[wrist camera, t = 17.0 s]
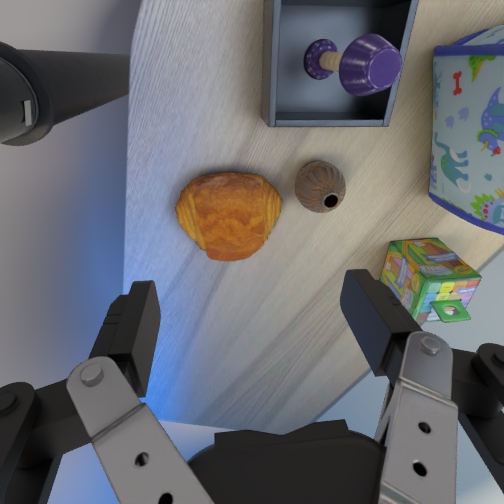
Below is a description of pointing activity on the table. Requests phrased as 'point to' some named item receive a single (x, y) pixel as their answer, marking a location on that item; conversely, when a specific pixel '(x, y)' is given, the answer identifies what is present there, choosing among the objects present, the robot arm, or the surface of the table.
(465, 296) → the chalk box
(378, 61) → the toy lamp
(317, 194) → the vase
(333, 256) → the table surface
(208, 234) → the croissant
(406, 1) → the open box
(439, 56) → the lunch bag
